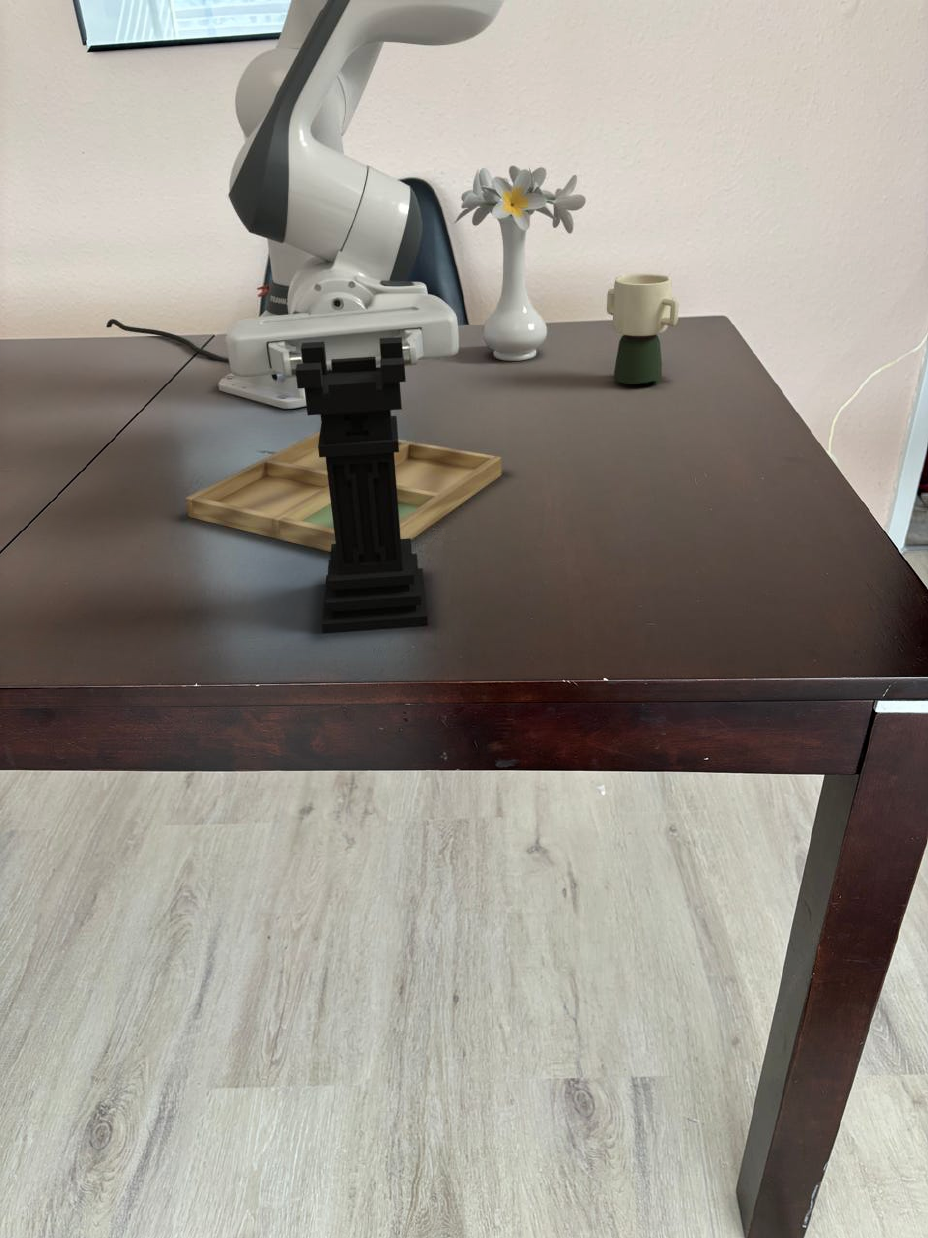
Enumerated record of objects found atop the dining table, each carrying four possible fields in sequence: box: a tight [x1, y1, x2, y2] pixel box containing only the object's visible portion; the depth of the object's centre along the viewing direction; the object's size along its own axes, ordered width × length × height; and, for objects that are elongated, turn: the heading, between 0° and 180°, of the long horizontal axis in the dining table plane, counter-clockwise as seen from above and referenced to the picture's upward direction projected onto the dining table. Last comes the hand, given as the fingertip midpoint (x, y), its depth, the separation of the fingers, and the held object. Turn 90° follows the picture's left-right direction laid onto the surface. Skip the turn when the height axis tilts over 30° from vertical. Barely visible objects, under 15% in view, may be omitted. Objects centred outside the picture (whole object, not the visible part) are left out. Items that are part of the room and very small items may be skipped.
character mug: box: [606, 273, 680, 386], centre depth 121 cm, size 11×7×13 cm, turn 43°
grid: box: [184, 430, 502, 553], centre depth 95 cm, size 22×22×2 cm
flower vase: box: [453, 165, 587, 362], centre depth 132 cm, size 13×18×25 cm
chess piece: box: [295, 337, 429, 634], centre depth 71 cm, size 8×8×20 cm
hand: (351, 361), depth 78 cm, fingers open, 8 cm apart
